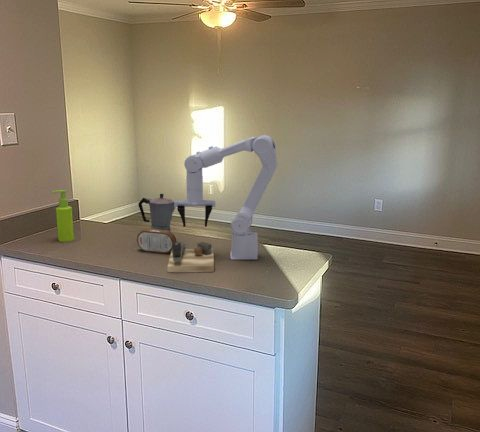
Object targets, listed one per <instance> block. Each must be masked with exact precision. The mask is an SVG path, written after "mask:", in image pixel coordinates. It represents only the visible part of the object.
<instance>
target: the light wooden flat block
mask: <svg viewBox="0 0 480 432" xmlns="http://www.w3.org/2000/svg"><path fill="white" fill-rule="evenodd" d="M214 251H215V249H214V248H212V243H208V242H204V241H201V242H197V247H195V248H186V250H185V251H183V256H182V258H181V261H173V256H172V251H171V252H170V255H169V259H168V263H167V266H166V267H167V273H214V269H215V267H214V263H215V260H214V259H215V258H214V257H215V256H214V254H215V253H214Z"/></svg>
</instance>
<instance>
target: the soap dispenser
mask: <svg viewBox="0 0 480 432" xmlns="http://www.w3.org/2000/svg"><path fill="white" fill-rule="evenodd" d="M51 193H52V194H56V193H57V194H58V193H60V198H58V206H57V207H56V208H55V213H56V215H55V216H56V226H57V228H56V229H57V239H58V242H61V243H67V242H73V241H74V240H75V233H74V221H73V219H74V218H73V208H72V206H70V205H69V198H67V197H66V193H68V191H67V190H66V189H58V190H57V189H56V190H53V191H51Z"/></svg>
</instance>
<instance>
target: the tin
mask: <svg viewBox="0 0 480 432" xmlns="http://www.w3.org/2000/svg"><path fill="white" fill-rule="evenodd" d="M136 242H137V245H138V247H139V248H140V249H141V250H142V251H144V252H149V253H158V254H169V253H171V251H172V243H174V242H178V241H177V238H176V236H175V235H174V234H173V232H172V231H171V232H170V231H167V230H158V229H151V228H144V229H142V230H141V231H140V232H139V233H138V234H137V238H136Z"/></svg>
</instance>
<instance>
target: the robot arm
mask: <svg viewBox="0 0 480 432" xmlns="http://www.w3.org/2000/svg"><path fill="white" fill-rule="evenodd" d="M244 151H245V152H249V153H252V152H254V153H255V155H256V156H257V157H258V158H259V159H260V160H259V161H260V162H261V165H262V167H261V169H260V171H259V173H258V175H257V177H256V178H255V181H254V183H253V185H252V187H251V189H250V191H249V192H248V195H247V197H246V199H245V201H244V203H243V205H242V207H241V209H240V210H239V212H238V213H236V215H235V217H234V218H233V219H232V221H231V223H230V228H231V251H230V252H229V253H230V254H229V256H230V260H231V261H232V260H233V261H234V260H236V261H237V260H239V261H240V260H258V259H259V258H258V257H259V256H258V254H259V247H258V244H259V243H258V242H259V239H258V232H255V231H254V232H253V231H252V228H251V226H252V223H253V217H254V214H255V211H256V210H257V208H258V205H259V203H260V201H261V199H262V197H263V195H264V193H265V191H266V189H267V188H268V186H269V184H270V182H271V181H272V180H271V179H273V176H274V174H275V173H276V170H277V168H278V165H279V162H278V157H277V154H278V153H277V145H276V143H275V141H274V139H273V138H272V137H271V136H270V135H269V134H261V135H259V136H253V137H248V138H244V139H243V140H239V141H237V142H235V143H232V144H229V145H227V146H224V147H222V148H221V147H218V146H213V145H212V146H209V147H208V149H206V150H205V149H204V150H203V151H196V153H195V154H192V155H190V156H188V157H186V158H185V160H184V161H183V164H184V168H185V170H186V179H185V180H186V181H185V182H186V183H185V184H186V199H183V200H173V201H174V207H175V208H177V209H176V210H177V212H178V214H179V216H180V219H181V221H182V225H183V226H182V227H183V228H186V223H187V222H186V207H204V208H205V210H204V212H205V214H204V215H205V216H204V227H205V228H206V227H208V221H209V217H210V215H211V212H212V211H213V208H215V207H216V200H215V199H212V200H210V199H204V195H203V194H204V193H203V192H204V191H203V190H204V181H203V180H204V178H203V177H204V176H203V168H204V169H206V168H209V167H212V166H215V165H217V164H221V163H223V160H224V158H225V157H229V156H232V155H235V154H238V153H241V152H244Z"/></svg>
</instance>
